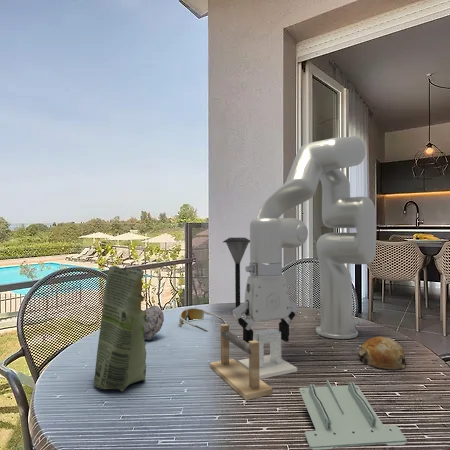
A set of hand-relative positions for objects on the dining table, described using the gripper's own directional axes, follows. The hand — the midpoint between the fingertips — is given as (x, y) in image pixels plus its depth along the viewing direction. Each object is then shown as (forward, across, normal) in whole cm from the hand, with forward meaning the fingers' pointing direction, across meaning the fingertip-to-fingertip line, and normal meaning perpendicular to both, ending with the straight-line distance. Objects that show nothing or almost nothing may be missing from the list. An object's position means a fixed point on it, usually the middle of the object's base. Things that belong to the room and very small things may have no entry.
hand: (266, 342), depth 81 cm
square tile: (+6, 0, 0) cm, 6 cm away
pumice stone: (+6, -21, +34) cm, 40 cm away
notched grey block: (+5, 0, 0) cm, 5 cm away
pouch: (+6, -32, +6) cm, 33 cm away
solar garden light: (+6, +18, +51) cm, 54 cm away
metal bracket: (+6, -1, -26) cm, 26 cm away
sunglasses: (+6, 0, +42) cm, 43 cm away
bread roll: (+6, +27, -9) cm, 29 cm away
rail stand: (+6, -9, -3) cm, 11 cm away
